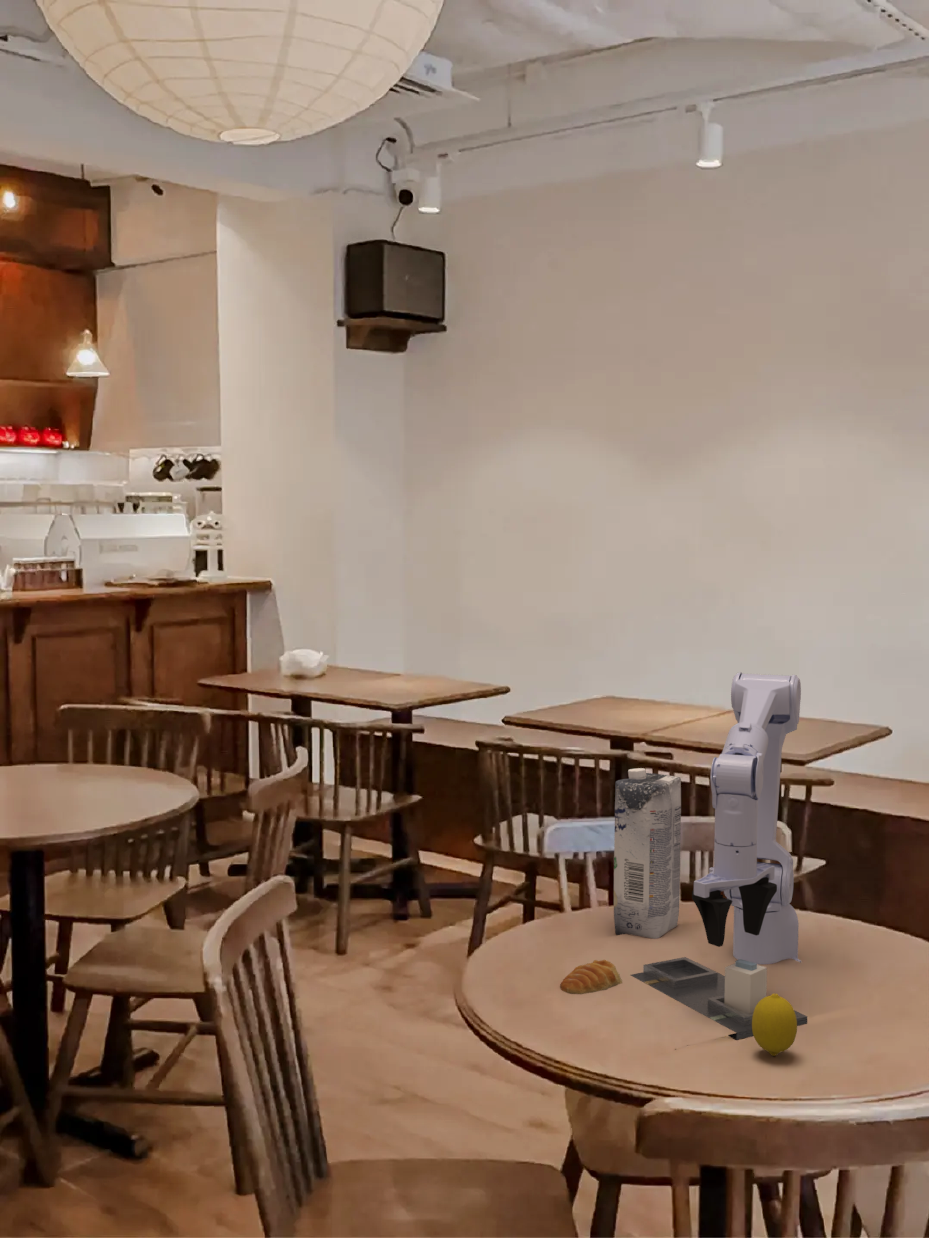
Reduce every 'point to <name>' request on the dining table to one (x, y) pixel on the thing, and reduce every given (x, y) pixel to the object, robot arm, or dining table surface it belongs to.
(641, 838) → the juice carton
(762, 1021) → the lemon
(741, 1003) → the plug
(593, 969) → the pastry
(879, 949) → the dining table surface
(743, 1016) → the panel
